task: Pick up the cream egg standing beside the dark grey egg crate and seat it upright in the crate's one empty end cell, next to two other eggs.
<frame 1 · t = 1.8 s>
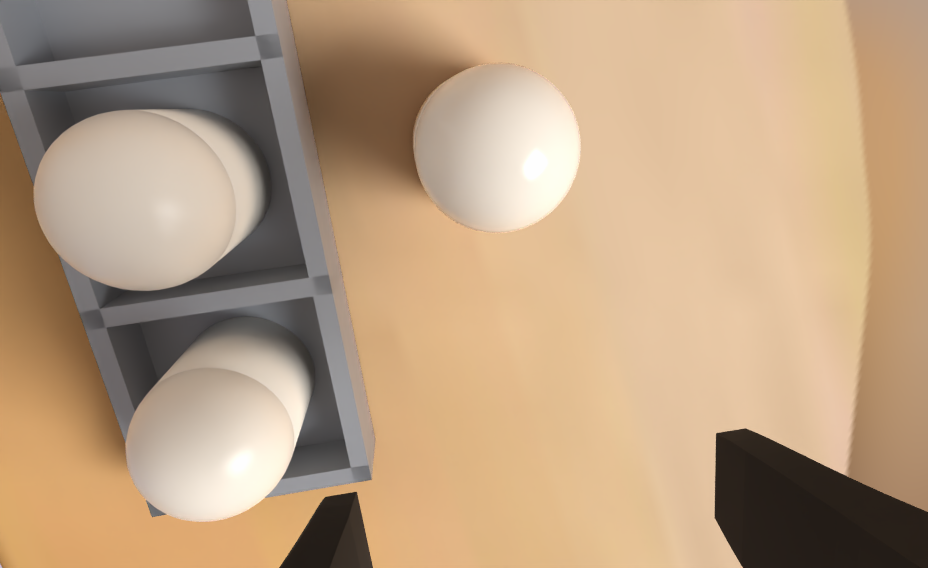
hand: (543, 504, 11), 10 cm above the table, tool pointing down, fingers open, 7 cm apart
egg: (478, 141, 19), on the table
egg crate: (205, 179, 19), on the table
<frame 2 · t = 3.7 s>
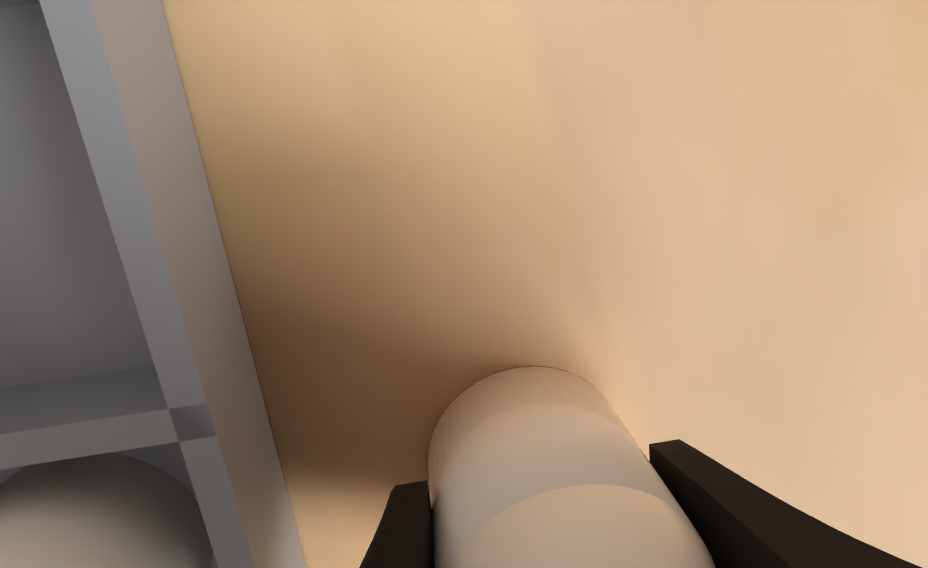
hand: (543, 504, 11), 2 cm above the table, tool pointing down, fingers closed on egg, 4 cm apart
egg: (526, 456, 13), on the table, touching gripper
egg crate: (115, 523, 12), on the table
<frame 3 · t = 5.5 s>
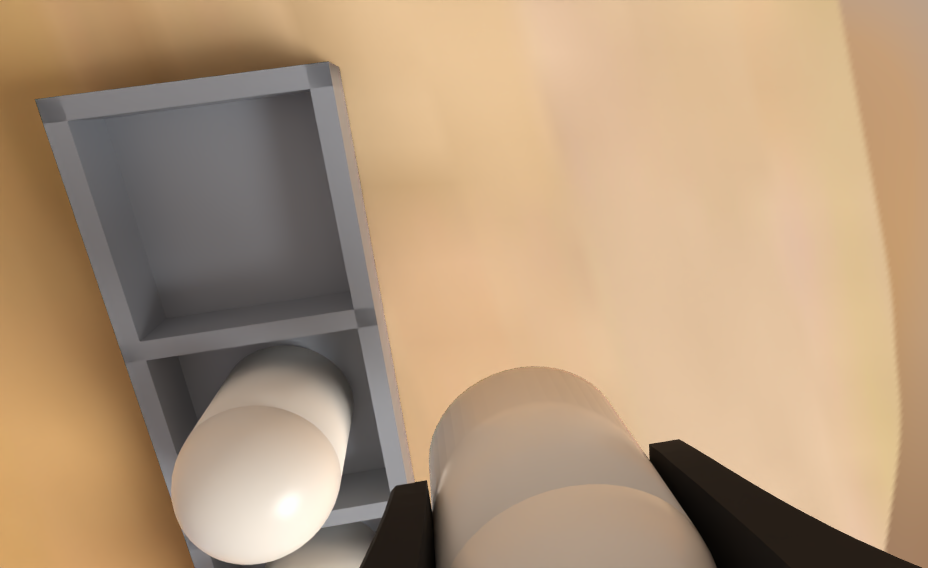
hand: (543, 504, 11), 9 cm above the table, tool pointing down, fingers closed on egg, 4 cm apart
egg: (527, 456, 13), point 8 cm above the table, touching gripper
egg crate: (291, 396, 20), on the table
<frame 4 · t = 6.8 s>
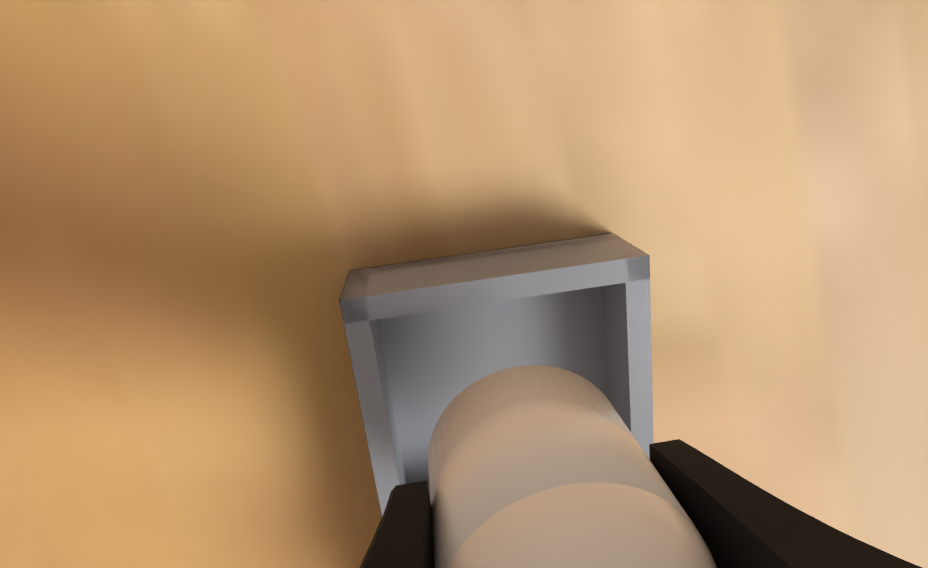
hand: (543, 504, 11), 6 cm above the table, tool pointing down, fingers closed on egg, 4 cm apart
egg: (526, 454, 13), point 4 cm above the table, touching gripper
egg crate: (517, 555, 19), on the table
when the fingers open (4 cm above the table, at t = 7.7 s): egg drops 1 cm, resting on egg crate.
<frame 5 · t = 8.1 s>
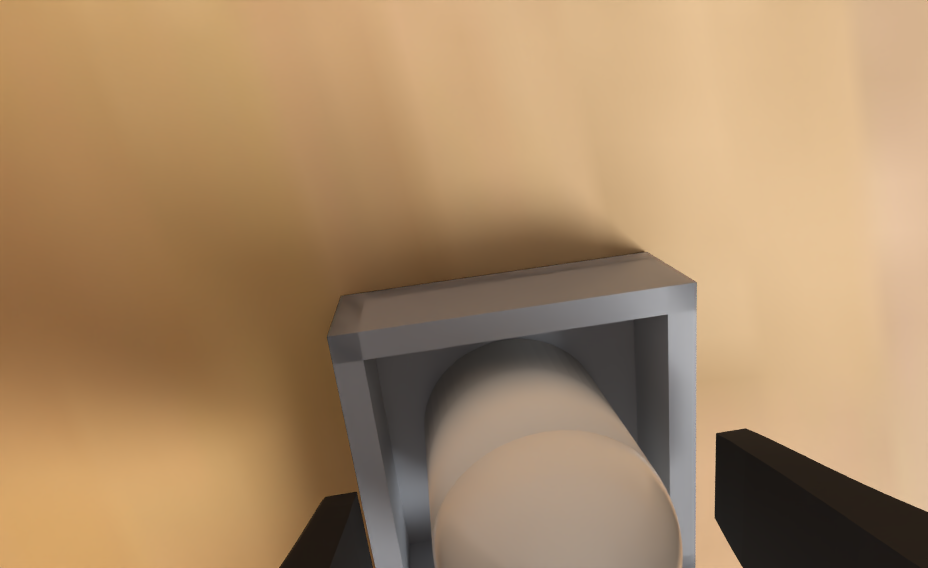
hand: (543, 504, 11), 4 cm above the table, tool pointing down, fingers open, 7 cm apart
egg: (513, 421, 14), point 1 cm above the table, touching egg crate
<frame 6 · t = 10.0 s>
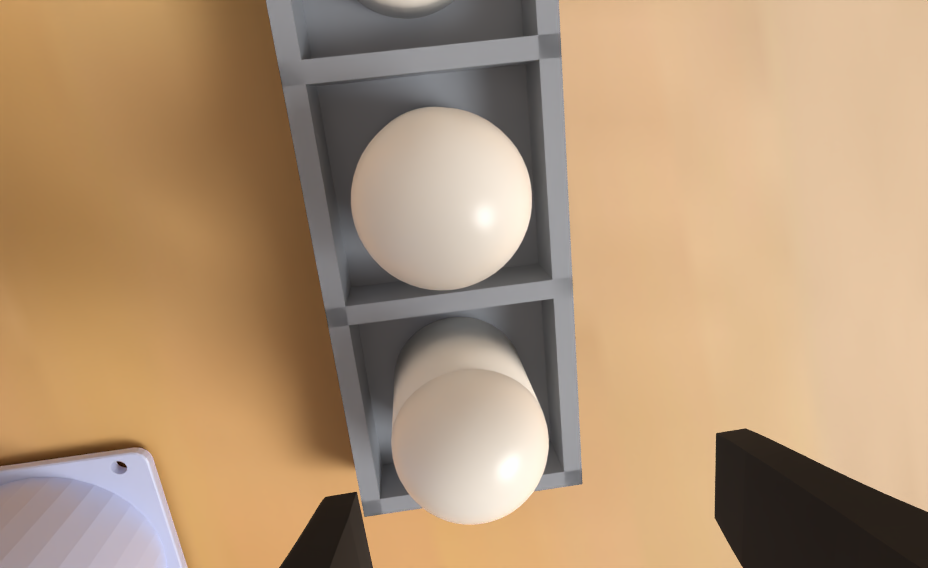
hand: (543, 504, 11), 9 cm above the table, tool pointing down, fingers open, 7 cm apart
egg crate: (433, 178, 18), on the table
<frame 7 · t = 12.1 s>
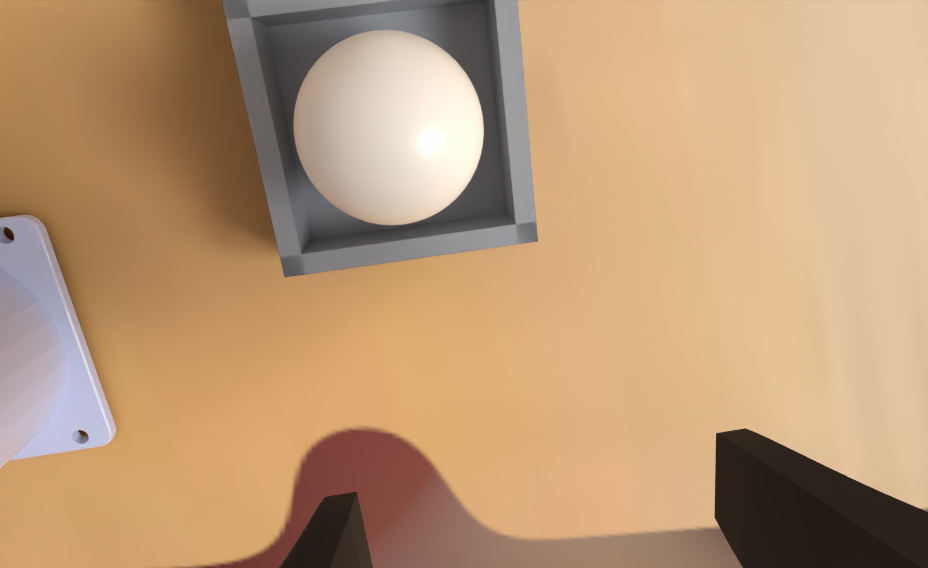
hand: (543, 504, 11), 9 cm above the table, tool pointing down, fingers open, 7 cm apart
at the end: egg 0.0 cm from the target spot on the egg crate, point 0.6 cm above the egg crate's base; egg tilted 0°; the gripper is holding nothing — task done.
